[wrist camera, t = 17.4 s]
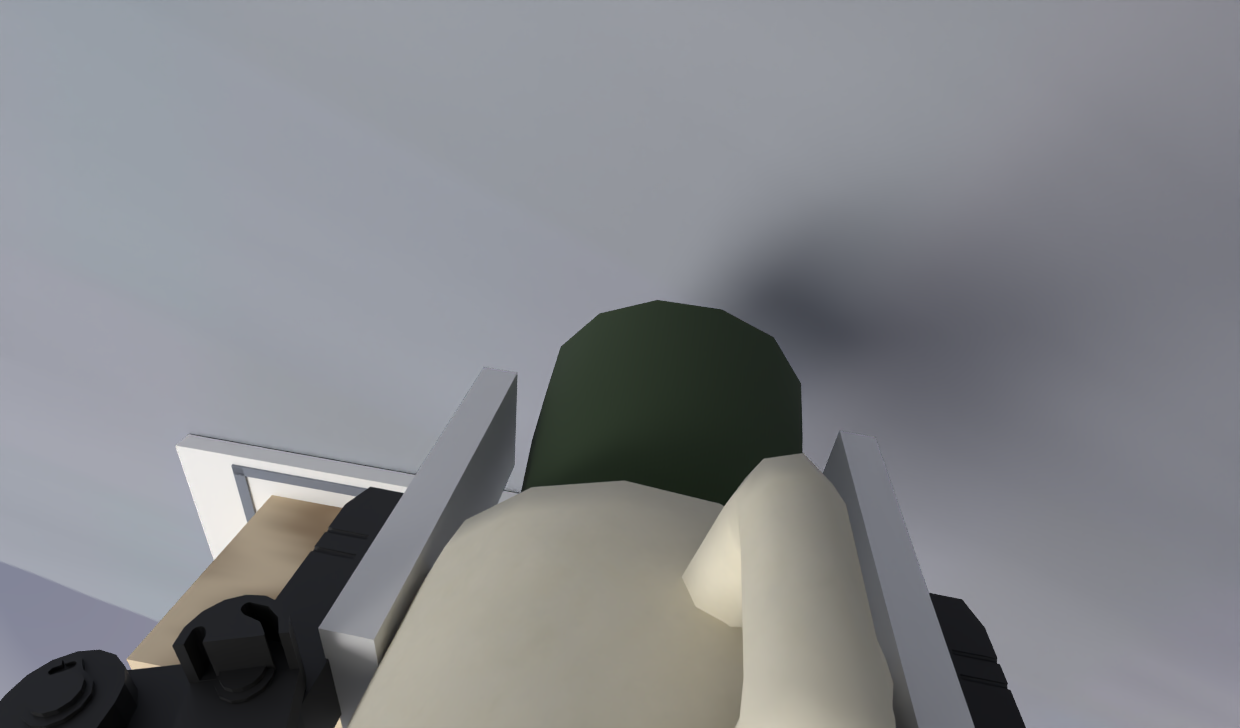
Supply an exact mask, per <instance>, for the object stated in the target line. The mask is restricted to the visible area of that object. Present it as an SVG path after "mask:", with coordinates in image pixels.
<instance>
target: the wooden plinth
mask: <svg viewBox="0 0 1240 728" xmlns="http://www.w3.org/2000/svg"><path fill="white" fill-rule="evenodd" d="M341 509H342V508H340V507H335V506H329V505H324V504H318V503H313V502H307V501H302V500H296V499H291V498H286V497H280V496H275V495H271V497H270V498H269V499H268V500H267V501H266V502H265V503H264V504H263V506H262V507H261V508H260V509H259V510H258V511H257V512H256V513H255V515H254V516H253V517H252V518H251V519H250V520H249V521H248V522H247V524H246V525H245V526H244V527H243V528H242V529H241V530H240V532H239V533H238V534H237V535H236V536H235V537H234V538H233V539H232V541H231V542H230V543H229V544H228V545H227V546H226V547H225V548H224V550H223V551H222V552H221V553H220V554H219V555H218V556H217V557H216V559H215V560H214V561H213V562H212V563H211V564H210V565H209V566H208V568H207V569H206V570H205V571H204V572H203V573H202V574H201V576H200V577H199V578H198V579H197V580H196V581H195V582H194V583H193V585H192V586H191V587H190V588H189V589H188V590H187V591H186V592H185V594H184V595H183V596H182V597H181V598H180V599H179V600H178V601H177V603H176V604H175V605H174V606H173V607H172V608H171V609H170V611H169V612H168V613H167V614H166V615H165V616H164V617H163V618H162V620H161V621H160V622H159V623H158V624H157V625H156V626H155V628H154V629H153V630H152V631H151V632H150V633H149V634H148V635H147V636H146V638H145V639H144V640H143V641H142V642H141V643H140V644H139V645H138V647H137V648H136V649H135V650H134V651H133V652H132V654H131V655H130V656H129V657H128V658H127V661H128V663H129V665H130V667H131V669H132V670H133V669H142V668H151V667H160V666H168V665H177V664H180V662H179V659H178V657H177V655H176V653H175V651H174V649H173V647H172V645H173V644H174V642H175V640H176V639H177V637H178V636H179V634H180V633H181V631H182V630H183V628H184V627H185V626H186V625H187V624H188V623H189V622H191V621H192V620H193V619H194V618H195V617H196V616H197V615H199V614H200V613H201V612H202V611H204V610H206V609H208V608H210V607H211V606H213V605H215V604H217V603H219V602H221V601H223V600H226V599H230V598H234V597H238V596H243V595H264V596H268V597H270V598H272V599H274V600H275V599H276V598H277V596H278V595H279V594H280V592H281V591H282V590H283V588H284V587H285V585H286V584H287V583H288V581H289V580H290V579H291V577H292V576H293V575H294V573H295V572H296V570H297V569H298V568H299V566H300V565H301V564H302V562H303V561H304V560H305V558H306V557H307V556H308V554H309V553H310V551H313V550H314V546H315V545H316V543H317V542H318V541H319V539H320V538H321V536H322V535H323V534H324V532H327V531H328V527H329V526H330V524H331V523H332V522H333V520H334V519H335V517H336V516H337V515H338V513H339V512H340V511H341ZM335 728H342V724H341V720H340V718H339V720H338V722H337V724H336V726H335Z"/></svg>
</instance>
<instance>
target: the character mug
mask: <svg viewBox="0 0 1240 728" xmlns="http://www.w3.org/2000/svg"><path fill="white" fill-rule="evenodd" d="M893 685H894V683H893V680H892V677H891V673H890V670H889V667H888V664H887V661H886V658H885V656H884V654H883V652H882V649H881V647H880V645H879V643H878V640H877V637H876V633H875V628H874V624H873V619H872V615H871V611H870V606H869V602H868V598H867V593H866V589H865V584H864V580H863V576H862V571H861V567H860V563H859V559H858V554H857V550H856V546H855V541H854V537H853V533H852V528H851V524H850V520H849V515H848V511H847V507H846V504H845V502H844V501H843V499H842V498H841V496H840V495H839V493H838V492H837V490H836V489H835V487H834V486H833V484H832V483H831V482H830V481H829V480H828V479H827V478H826V477H825V476H824V475H823V473H822V472H821V471H820V470H819V469H818V468H817V467H816V466H815V465H814V464H813V463H812V462H811V461H810V460H809V459H808V458H807V457H806V456H805V455H804V454H803V453H802V404H801V383H800V381H799V379H798V378H797V376H796V374H795V373H794V371H793V369H792V368H791V366H790V364H789V363H788V361H787V359H786V357H785V356H784V354H783V352H782V351H781V349H780V347H779V346H778V344H777V342H776V341H775V339H774V337H772V336H770V335H768V334H766V333H764V332H763V331H761V330H759V329H757V328H755V327H753V326H751V325H749V324H748V323H746V322H744V321H742V320H740V319H738V318H736V317H735V316H733V315H731V314H729V313H727V312H725V311H723V310H721V309H714V308H707V307H701V306H694V305H687V304H681V303H674V302H667V301H660V300H656V301H651V302H647V303H643V304H639V305H634V306H630V307H626V308H621V309H617V310H613V311H609V312H604V313H600V314H598V315H597V316H596V317H595V318H594V319H593V320H591V321H590V322H589V323H588V324H587V325H586V326H584V327H583V328H582V329H581V330H580V331H579V332H577V333H576V334H575V335H574V336H573V337H572V338H570V339H569V340H568V341H567V342H566V343H565V344H564V345H562V346H561V348H560V351H559V354H558V357H557V361H556V364H555V367H554V370H553V373H552V376H551V379H550V383H549V386H548V389H547V392H546V395H545V399H544V402H543V405H542V409H541V412H540V416H539V419H538V422H537V426H536V429H535V432H534V436H533V439H532V444H531V448H530V453H529V458H528V462H527V467H526V472H525V476H524V481H523V486H522V490H521V493H519V494H517V495H515V496H513V497H511V498H509V499H507V500H505V501H503V502H501V503H499V504H497V505H495V506H493V507H491V508H489V509H487V510H485V511H483V512H481V513H479V514H477V515H475V516H472V517H470V518H468V519H466V520H465V521H464V522H463V524H462V525H461V526H460V528H459V529H458V530H457V531H456V533H455V534H454V535H453V537H452V538H451V539H450V541H449V542H448V543H447V544H446V546H445V547H444V549H443V550H442V552H441V554H440V555H439V557H438V559H437V560H436V562H435V563H434V565H433V567H432V568H431V570H430V572H429V573H428V575H427V577H426V578H425V580H424V581H423V583H422V585H421V586H420V588H419V590H418V591H417V593H416V595H415V596H414V598H413V600H412V602H411V604H410V606H409V608H408V610H407V612H406V614H405V616H404V617H403V619H402V621H401V623H400V625H399V627H398V629H397V631H396V633H395V635H394V637H393V639H392V641H391V643H390V645H389V646H388V648H387V650H386V652H385V654H384V656H383V658H382V660H381V662H380V664H379V666H378V667H377V669H376V671H375V673H374V675H373V677H372V679H371V681H370V683H369V685H368V687H367V688H366V690H365V692H364V694H363V696H362V698H361V700H360V702H359V704H358V706H357V708H356V710H355V712H354V714H353V715H352V717H351V719H350V721H349V723H348V725H347V727H346V728H896V725H895V716H894V712H893Z"/></svg>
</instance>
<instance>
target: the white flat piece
mask: <svg viewBox="0 0 1240 728" xmlns="http://www.w3.org/2000/svg"><path fill="white" fill-rule="evenodd" d="M175 446H176V449H177V452H178V455H179V458H180V461H181V464H182V467H183V470H184V473H185V476H186V479H187V482H188V485H189V488H190V491H191V494H192V497H193V500H194V503H195V505H196V508H197V511H198V514H199V517H200V520H201V523H202V526H203V529H204V532H205V535H206V538H207V541H208V544H209V547H210V550H211V553H212V556H213V559H214V560H215V559H216V557H217V556H218V555H219V554H220V553H221V552H222V551H223V550H224V548H225V547H226V546H227V545H228V544H229V543H230V542H231V541H232V539H233V538H234V537H235V536H236V535H237V534H238V533H239V532H240V530H241V529H242V528H243V527H244V526H245V525H246V524H247V522H248V521H249V520H250V519H251V518H252V517H253V516H254V515H255V513H256V512H257V511H258V510H259V509H260V508H261V507H262V506H263V504H264V503H265V502H266V501H267V500H268V499H269V498H270V497H271V495H275V496H280V497H286V498H291V499H296V500H302V501H307V502H313V503H318V504H324V505H329V506H335V507H340V508H343V507H344V505H345V504H346V503H348V502H349V501H351V500H352V499H353V498H355V497H356V496H358V495H359V494H360V493H362V492H363V491H365V490H366V489H368V488H369V487H375V488H381V489H386V490H391V491H396V492H401V493H404V492H405V491H406V489H407V487H408V486H409V484H410V483H411V481H412V480H413V478H414V476H415V475H413V474H407V473H402V472H396V471H391V470H385V469H380V468H374V467H368V466H363V465H357V464H352V463H346V462H341V461H335V460H329V459H324V458H318V457H313V456H307V455H302V454H296V453H290V452H285V451H279V450H274V449H268V448H262V447H257V446H251V445H246V444H240V443H235V442H229V441H223V440H218V439H212V438H207V437H201V436H196V435H190V434H188V435H187V436H186V437H185V438H184V439H182V440H181V441H180V442H179V443H178V444H176V445H175ZM517 494H519V493H513V492H508V491H503V493H502V495H501V497H500V499H499V502H498V504H499V503H501V502H503V501H505V500H507V499H509V498H511V497H513V496H515V495H517Z"/></svg>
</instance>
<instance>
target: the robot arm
mask: <svg viewBox="0 0 1240 728" xmlns="http://www.w3.org/2000/svg"><path fill="white" fill-rule="evenodd" d="M516 402H517V373H516V372H511V371H505V370H500V369H494V368H489V367H484V368H483V369H482V371H481V372H480V374H479V376H478V377H477V379H476V380H475V382H474V383H473V385H472V387H471V388H470V390H469V391H468V393H467V395H466V396H465V398H464V399H463V401H462V402H461V404H460V406H459V407H458V409H457V410H456V412H455V413H454V415H453V417H452V418H451V420H450V421H449V423H448V424H447V426H446V428H445V429H444V431H443V432H442V434H441V435H440V437H439V439H438V440H437V442H436V443H435V445H434V447H433V448H432V450H431V451H430V453H429V454H428V456H427V458H426V459H425V461H424V462H423V464H422V465H421V467H420V469H419V470H418V472H417V473H416V475H415V476H414V478H413V480H412V481H411V483H410V484H409V486H408V487H407V489H406V491H405V492H404V493H401V492H396V491H391V490H386V489H381V488H375V487H369V488H368V489H366V490H365V491H363V492H362V493H360V494H359V495H358V496H356V497H355V498H353V499H352V500H351V501H349V502H348V503H346V504H345V505H344V507H343V508H342V509H341V511H340V512H339V513H338V515H337V516H336V517H335V519H334V520H333V522H332V523H331V524H330V526H329V527H328V531H327V532H324V534H323V535H322V536H321V538H320V539H319V541H318V542H317V543H316V545H315V546H314V550H313V551H310V553H309V554H308V556H307V557H306V558H305V560H304V561H303V562H302V564H301V565H300V566H299V568H298V569H297V570H296V572H295V573H294V575H293V576H292V577H291V579H290V580H289V581H288V583H287V584H286V585H285V587H284V588H283V590H282V591H281V592H280V594H279V595H278V596H277V598H276V599H275V600H274V599H272V598H270V597H268V596H264V595H243V596H238V597H234V598H230V599H226V600H223V601H221V602H219V603H217V604H215V605H213V606H211V607H210V608H208V609H206V610H204V611H202V612H201V613H200V614H199V615H197V616H196V617H195V618H194V619H193V620H192V621H191V622H189V623H188V624H187V625H186V626H185V627H184V628H183V630H182V631H181V633H180V634H179V636H178V637H177V639H176V640H175V642H174V644H173V645H172V647H173V649H174V651H175V653H176V655H177V657H178V659H179V662H180V664H177V665H168V666H160V667H151V668H142V669H133V670H127V669H126V667H125V666H124V665H123V663H122V662H121V661H120V659H119V658H118V657H117V655H115V654H112V653H108V652H105V651H102V650H90V651H78V652H75V653H72V654H69V655H66V656H63V657H60V658H57V659H55V660H52V661H50V662H49V663H47V664H45V665H43V666H42V667H40V668H39V669H37V670H35V671H33V672H32V673H30V674H29V675H27V676H26V677H25V678H24V679H22V680H21V681H20V682H19V683H18V684H17V685H16V686H15V687H14V688H13V689H11V690H10V691H9V692H8V693H7V694H6V695H5V696H4V697H3V698H2V700H1V701H0V728H335V726H336V724H337V722H338V720H339V718H340V720H341V724H342V728H346V727H347V725H348V723H349V721H350V719H351V717H352V715H353V714H354V712H355V710H356V708H357V706H358V704H359V702H360V700H361V698H362V696H363V694H364V692H365V690H366V688H367V687H368V685H369V683H370V681H371V679H372V677H373V675H374V673H375V671H376V669H377V667H378V666H379V664H380V662H381V660H382V658H383V656H384V654H385V652H386V650H387V648H388V646H389V645H390V643H391V641H392V639H393V637H394V635H395V633H396V631H397V629H398V627H399V625H400V623H401V621H402V619H403V617H404V616H405V614H406V612H407V610H408V608H409V606H410V604H411V602H412V600H413V598H414V596H415V595H416V593H417V591H418V590H419V588H420V586H421V585H422V583H423V581H424V580H425V578H426V577H427V575H428V573H429V572H430V570H431V568H432V567H433V565H434V563H435V562H436V560H437V559H438V557H439V555H440V554H441V552H442V550H443V549H444V547H445V546H446V544H447V543H448V542H449V541H450V539H451V538H452V537H453V535H454V534H455V533H456V531H457V530H458V529H459V528H460V526H461V525H462V524H463V522H464V521H465V520H466V519H468V518H470V517H472V516H475V515H477V514H479V513H481V512H483V511H485V510H487V509H489V508H491V507H493V506H495V505H497V504H498V502H499V499H500V497H501V495H502V493H503V490H504V488H505V486H506V483H507V481H508V479H509V477H510V474H511V472H512V470H513V468H514V465H515V433H516ZM823 475H824V476H825V477H826V478H827V479H828V480H829V481H830V482H831V483H832V484H833V486H834V487H835V489H836V490H837V492H838V493H839V495H840V496H841V498H842V499H843V501H844V502H845V504H846V507H847V511H848V515H849V520H850V524H851V528H852V533H853V537H854V541H855V546H856V550H857V554H858V559H859V563H860V567H861V571H862V576H863V580H864V584H865V589H866V593H867V598H868V602H869V606H870V611H871V615H872V619H873V624H874V628H875V633H876V637H877V640H878V643H879V645H880V647H881V649H882V652H883V654H884V656H885V658H886V661H887V664H888V667H889V670H890V673H891V677H892V680H893V683H894V685H893V712H894V716H895V725H896V728H1026V727H1025V724H1024V722H1023V720H1022V717H1021V715H1020V712H1019V710H1018V707H1017V705H1016V703H1015V700H1014V698H1013V695H1012V693H1011V690H1008V689H1007V684H1008V683H1007V681H1006V678H1005V676H1004V673H1003V671H1002V668H1001V666H1000V664H997V656H996V654H995V651H994V649H993V646H992V644H991V642H990V639H989V637H988V634H987V632H986V629H985V627H984V626H983V625H982V624H981V622H980V621H979V620H978V619H977V617H976V616H975V615H974V614H973V612H972V611H971V610H970V609H969V607H968V606H967V605H966V604H965V602H964V601H963V600H962V599H957V598H952V597H947V596H942V595H937V594H932V593H929V592H928V589H927V586H926V583H925V580H924V578H923V575H922V572H921V569H920V566H919V563H918V560H917V557H916V554H915V551H914V548H913V545H912V542H911V539H910V536H909V534H908V531H907V528H906V525H905V522H904V519H903V516H902V513H901V510H900V507H899V504H898V501H897V498H896V495H895V493H894V490H893V487H892V484H891V481H890V478H889V475H888V472H887V469H886V466H885V463H884V460H883V457H882V454H881V452H880V449H879V446H878V443H877V440H876V437H873V436H868V435H862V434H857V433H851V432H845V431H839V434H838V436H837V439H836V441H835V444H834V446H833V449H832V452H831V454H830V457H829V459H828V462H827V464H826V467H825V469H824V472H823Z"/></svg>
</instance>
